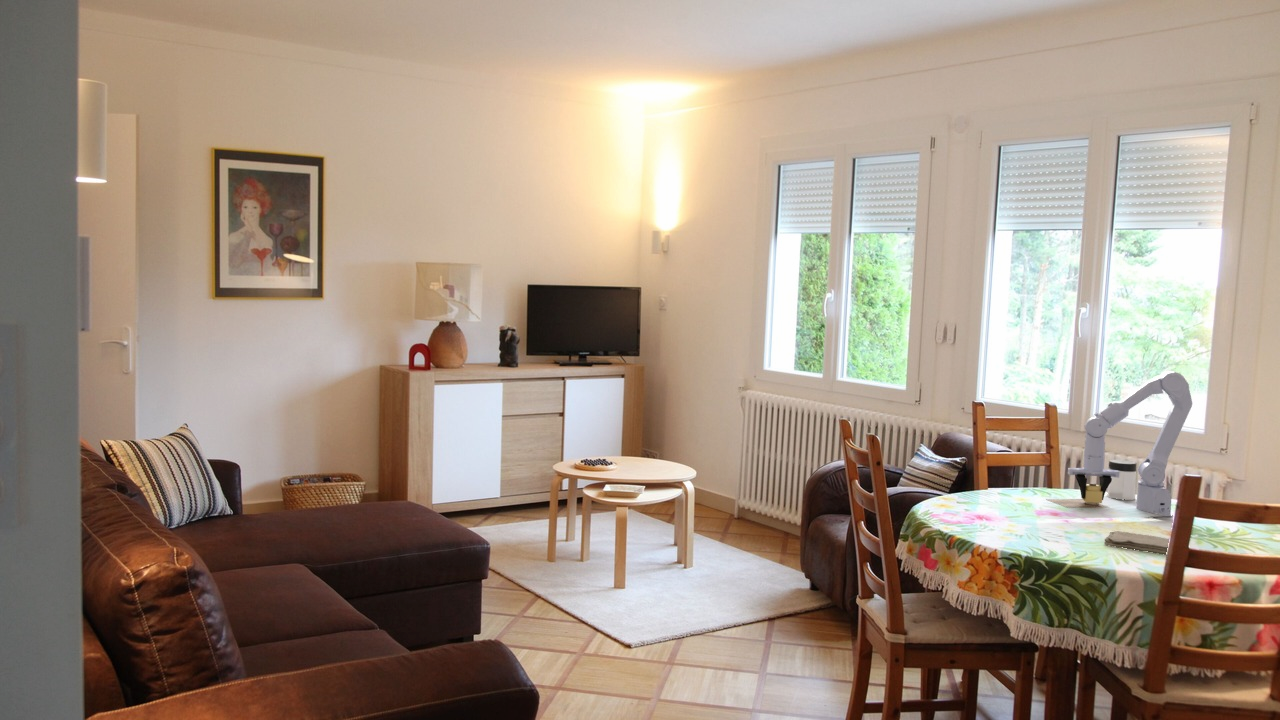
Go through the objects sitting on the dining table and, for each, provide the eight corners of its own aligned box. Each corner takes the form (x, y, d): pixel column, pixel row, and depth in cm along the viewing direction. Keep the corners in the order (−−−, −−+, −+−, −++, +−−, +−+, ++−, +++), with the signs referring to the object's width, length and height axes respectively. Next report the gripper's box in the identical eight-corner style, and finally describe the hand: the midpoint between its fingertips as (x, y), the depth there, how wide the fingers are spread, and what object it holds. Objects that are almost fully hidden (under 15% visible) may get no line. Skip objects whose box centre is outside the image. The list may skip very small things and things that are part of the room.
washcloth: (1110, 538, 262) (1110, 527, 262) (1185, 549, 252) (1185, 538, 252) (1102, 547, 253) (1103, 536, 252) (1180, 559, 242) (1180, 547, 242)
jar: (1105, 493, 321) (1107, 458, 320) (1132, 496, 318) (1134, 460, 318) (1108, 499, 313) (1110, 462, 312) (1136, 501, 310) (1138, 464, 309)
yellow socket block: (1097, 500, 300) (1098, 482, 300) (1101, 503, 296) (1102, 485, 296) (1082, 499, 301) (1083, 481, 301) (1086, 502, 297) (1086, 484, 297)
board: (1109, 510, 295) (1109, 507, 295) (1067, 511, 293) (1067, 507, 293) (1085, 502, 307) (1085, 498, 307) (1045, 503, 305) (1045, 499, 305)
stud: (1101, 505, 297) (1102, 493, 297) (1089, 505, 296) (1090, 493, 296) (1093, 502, 301) (1094, 490, 301) (1082, 502, 300) (1082, 490, 300)
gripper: (1072, 456, 295) (1070, 499, 296) (1123, 459, 292) (1120, 502, 293) (1067, 453, 302) (1065, 495, 303) (1116, 455, 299) (1114, 498, 300)
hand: (1092, 498), depth 299 cm, fingers closed on yellow socket block, 4 cm apart
